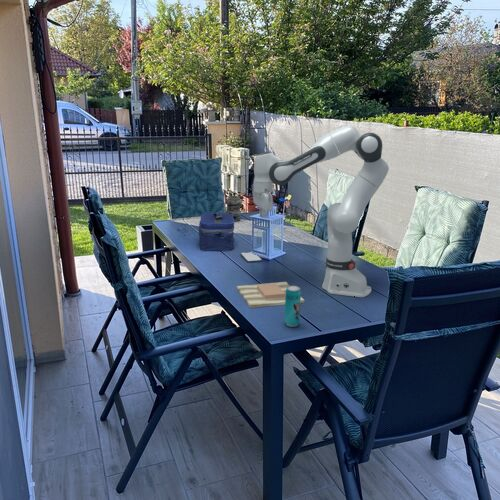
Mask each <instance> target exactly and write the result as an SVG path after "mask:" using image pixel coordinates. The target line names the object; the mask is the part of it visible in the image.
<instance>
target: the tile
mask: <svg viewBox="0 0 500 500" xmlns="http://www.w3.org/2000/svg"><path fill="white" fill-rule="evenodd" d="M264 284H265V285H257V291H258V292H259V293H260V295H261V296H262V297H263V298H264V300H265V301H267V300H278V299H285V293H284V292H283V291H282V289H281V288H280V287H279V286H278V285H277V284H266V283H264Z"/></svg>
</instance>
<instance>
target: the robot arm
mask: <svg viewBox="0 0 500 500" xmlns="http://www.w3.org/2000/svg"><path fill="white" fill-rule="evenodd" d="M350 151H353V152H354V153H355V154H356V155H357V156H358V157H359V158H360V159H361V160H363V165H362V168H361V169H360V170H359V172H358V173H357V174H356V176H355V177H354V179H353V180H352V181H351V182H350V184H349V186H348V187H347V189H346V192H345V194H344V196H343V198H342V200H341V202H334V203H332V204H331V205H329V207H328V208H327V211H326V225H327V227H326V228H327V256H326V259H325V275H324V280H323V283H322V286H321V288H322V289H324V290H325V291H327V293H328V294H331V295H338V296H347V297H354V296H355V298H365V297H367V296H369V295H370V294H371V293H372V286H369V285H368V284H367V278H366V275H364V274H363V273H362V272H361V271H359V270H358V269H357V267H356V264H357V260H355V261H354V260H353V258H352V257H353V238H352V237H353V235H352V233H353V232H354V231H355V230H356V229H357V228H358V225H359V222H360V219H361V218H362V216H363V213H364V211H365V209H366V207H367V205H368V204H369V202H370V201H371V199H372V198H373V196H375V194H376V192H377V191H378V190H379V188H380V187H381V185H382V184H383V183H384V180H385V179H386V176H387V174H388V173H389V170H390V169H389V168H390V167H389V165H388V163H387V161H385V160H384V159H383V158H382V155H383V154H382V152H383V140H382V139H381V137H380V135H378V134H376V133H375V132H367V133H366V132H365V133H363V134H361V133H359V130H358V129H357V128H356V127H355V126H354V125H351V124H348V125H344V126H342V127H338V128H336V129H333V130H332V131H329V132H328V133H325V134H324V135H323V136H321V137H320V138H319V139H317V140H316V141H315V142H314V144H313V145H311V147H310V148H309V149H307V151H305V152H303V153H301V154H300V155H297V156H295V157H294V158H292V159H290V160H287V159H283V158H282V157H281V158H280V157H278V156H277V155H275V154H274V153H273V152H271V151H267V152H266V151H265V152H260V153H258V154H257V155H256V156H255V157H254V161H253V162H254V164H253V174H254V179H253V184H252V185H251V190H252V201H253V204H254V205H255V206H257V207H258V208H259V209H258V210H259V216H260V217H261V218H266V214H267V212H272V211H273V209H274V202H273V200H274V198H273V195H272V194H271V193H272V192H273V191H274V190H273V189H274V187H273V186H274V184H275V185H278V186H283V185H286V184H288V183H289V182H290V181H291V179H292V178H293V177H294V176H295V175H297V174H298V173H300V172H302V171H304V170H305V169H307V168H309V167H312V166H313V165H315V164H318V163H322V162H325V161H326V162H327V161H329V160H333V159H335V158H337V157H339V156H341V155H343V154H345V153H347V152H350Z"/></svg>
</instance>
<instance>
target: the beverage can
mask: <svg viewBox="0 0 500 500" xmlns="http://www.w3.org/2000/svg"><path fill="white" fill-rule="evenodd" d="M286 289H287V290H286V294H285V305H284V323H285V325H286V326H287V327H290V328H294V327H298V325H299V324H300V320H301V319H300V317H301V303H300V299H301V297H302V294H301V293H302V292H301V287H299V286H297V285H290V286H288V287H287V288H286Z"/></svg>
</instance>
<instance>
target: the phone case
mask: <svg viewBox="0 0 500 500" xmlns="http://www.w3.org/2000/svg"><path fill="white" fill-rule="evenodd" d="M251 252H252V251H248V252H247V251H246V252H240V253H239V255H241V256H240V257H241V258H242V259H243V260H244V261H245V262H246V263H247V264H252V263H262V262H263V259H262V258H261V257H260V256H259V255H258V254H257V255H258V256H257V255H254V254H252V253H251Z"/></svg>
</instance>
